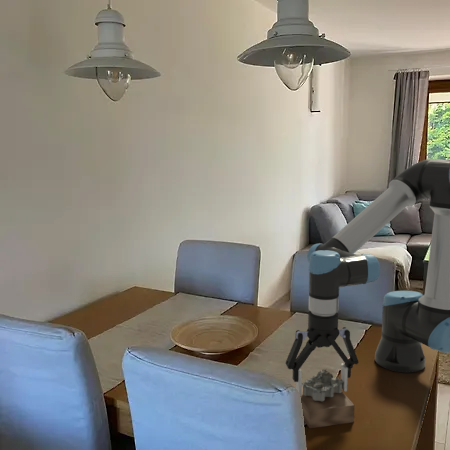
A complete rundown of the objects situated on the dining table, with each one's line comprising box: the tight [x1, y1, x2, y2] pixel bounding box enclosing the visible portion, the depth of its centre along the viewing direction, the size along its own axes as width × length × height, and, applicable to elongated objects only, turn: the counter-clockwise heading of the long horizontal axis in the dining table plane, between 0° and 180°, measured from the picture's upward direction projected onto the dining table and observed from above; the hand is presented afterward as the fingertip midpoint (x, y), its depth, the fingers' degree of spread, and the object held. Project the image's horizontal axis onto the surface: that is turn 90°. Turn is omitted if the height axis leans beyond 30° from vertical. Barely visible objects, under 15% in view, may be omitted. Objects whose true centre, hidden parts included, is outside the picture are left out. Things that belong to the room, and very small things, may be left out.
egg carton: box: [302, 368, 343, 401], centre depth 133 cm, size 11×8×4 cm
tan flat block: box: [290, 383, 355, 429], centre depth 134 cm, size 12×14×5 cm
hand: (321, 390), depth 133 cm, fingers closed on egg carton, 11 cm apart
